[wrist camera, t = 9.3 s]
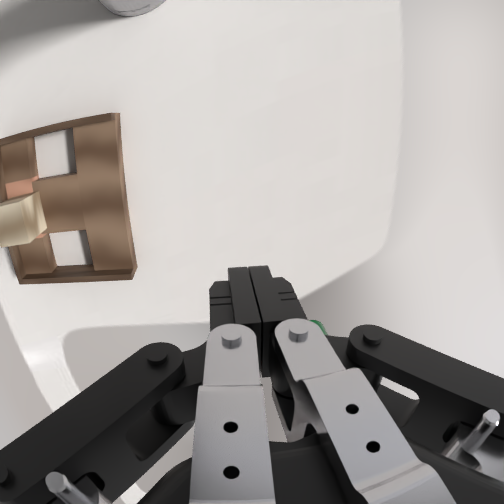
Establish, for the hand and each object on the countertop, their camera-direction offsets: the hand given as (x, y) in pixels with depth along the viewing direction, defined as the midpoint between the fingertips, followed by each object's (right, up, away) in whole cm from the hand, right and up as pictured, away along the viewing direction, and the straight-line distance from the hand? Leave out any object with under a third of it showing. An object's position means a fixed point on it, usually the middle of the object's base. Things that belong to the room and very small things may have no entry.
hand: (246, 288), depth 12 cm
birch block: (-29, +6, +21) cm, 36 cm away
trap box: (-24, +8, +23) cm, 34 cm away
